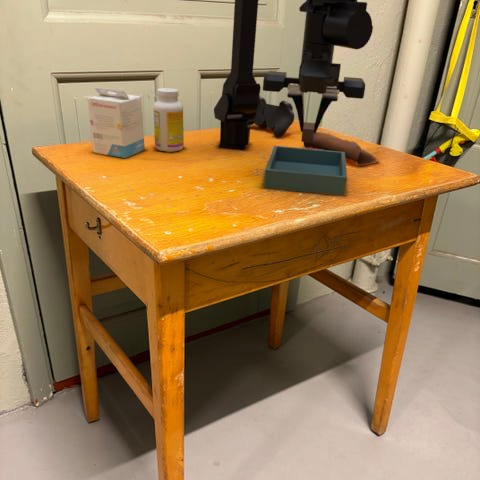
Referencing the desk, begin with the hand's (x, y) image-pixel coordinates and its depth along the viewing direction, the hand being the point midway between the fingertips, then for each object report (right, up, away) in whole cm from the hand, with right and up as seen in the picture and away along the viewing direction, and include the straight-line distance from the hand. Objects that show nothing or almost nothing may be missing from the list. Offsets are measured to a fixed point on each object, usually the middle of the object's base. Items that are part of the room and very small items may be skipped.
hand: (308, 132), depth 103 cm
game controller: (-6, +14, +40) cm, 42 cm away
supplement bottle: (-30, +3, +20) cm, 36 cm away
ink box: (-41, +1, +16) cm, 44 cm away
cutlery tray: (0, -7, +6) cm, 10 cm away
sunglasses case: (+11, +2, +23) cm, 25 cm away
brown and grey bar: (0, 0, +2) cm, 2 cm away
